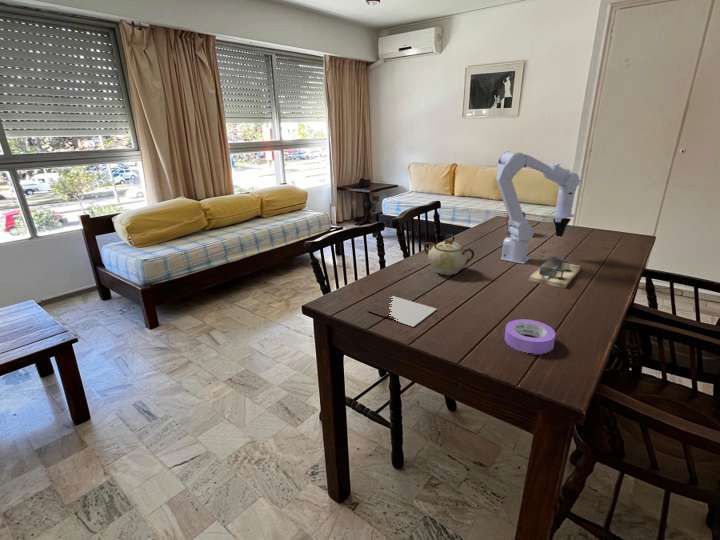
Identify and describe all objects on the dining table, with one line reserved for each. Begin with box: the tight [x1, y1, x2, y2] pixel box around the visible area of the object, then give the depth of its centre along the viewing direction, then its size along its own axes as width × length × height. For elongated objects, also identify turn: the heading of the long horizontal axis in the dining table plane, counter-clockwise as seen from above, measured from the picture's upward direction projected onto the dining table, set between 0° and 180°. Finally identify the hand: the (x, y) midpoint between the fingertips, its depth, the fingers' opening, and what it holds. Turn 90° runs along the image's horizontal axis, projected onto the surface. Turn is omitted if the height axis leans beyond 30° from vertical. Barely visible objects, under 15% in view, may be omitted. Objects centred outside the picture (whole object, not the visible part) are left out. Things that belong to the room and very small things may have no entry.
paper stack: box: [389, 295, 437, 328], centre depth 117 cm, size 23×25×1 cm
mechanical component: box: [504, 211, 527, 234], centre depth 193 cm, size 12×10×10 cm
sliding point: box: [547, 255, 572, 269], centre depth 141 cm, size 8×3×3 cm, turn 50°
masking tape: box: [504, 318, 556, 355], centre depth 97 cm, size 12×12×4 cm
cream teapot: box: [423, 233, 475, 276], centre depth 144 cm, size 20×15×15 cm
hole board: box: [528, 259, 582, 289], centre depth 140 cm, size 12×23×5 cm, turn 140°
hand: (559, 236), depth 155 cm, fingers closed
